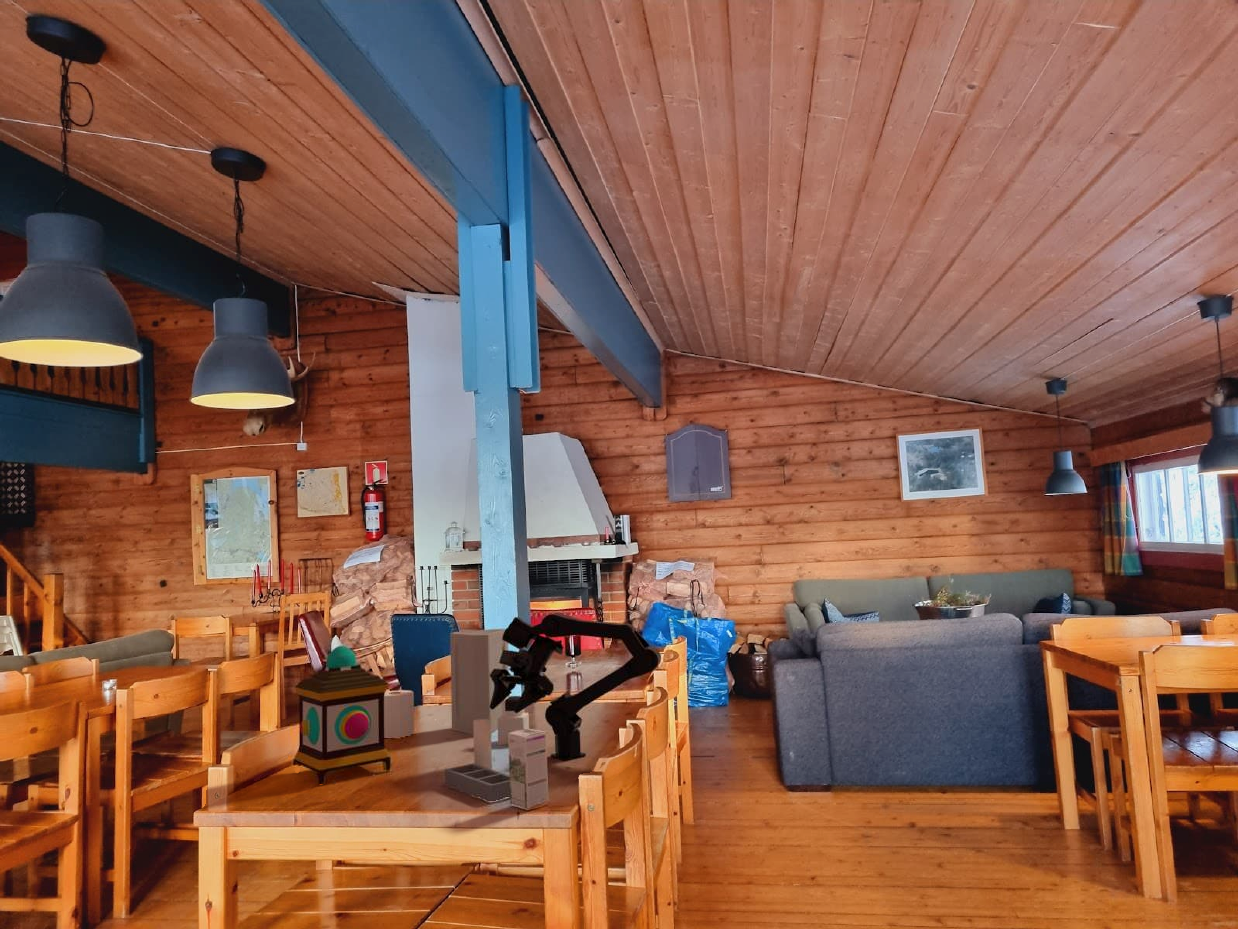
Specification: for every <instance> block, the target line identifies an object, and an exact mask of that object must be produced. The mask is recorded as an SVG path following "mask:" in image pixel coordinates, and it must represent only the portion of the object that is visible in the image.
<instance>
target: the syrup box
mask: <svg viewBox="0 0 1238 929" xmlns="http://www.w3.org/2000/svg"><path fill="white" fill-rule="evenodd" d="M508 743H509V745H508V766H509V768H508V770H509V772H508V773H509V774H508V775H510V799H509V801H510V805H511V804H514V805H516V806H520V807H523V808H530V807H532V806H534V805H536V804H541V803H543V802H545V801H549V785H548V783H549V781H548V755H547V754H548V753H547V751H548V750H547V732H546V731H543V730H538V729H532V728H529V729H522V730H517V731H514V732H511V733H508ZM549 802H550V801H549Z"/></svg>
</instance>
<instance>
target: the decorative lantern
mask: <svg viewBox="0 0 1238 929" xmlns="http://www.w3.org/2000/svg"><path fill="white" fill-rule="evenodd" d="M388 687H389V683H388V682H387V681H386V680H385V679H383V678H381V676H380V675H377V674H371V673H370V672H368V671H366V669H365V668H362V666H361V664H357V657H356V654H355V653H354V652H353V650H352V649H350V648H349V647H347V646H345V645H338V646H336V647H335V648H334V649H332V650H331V652H330V653H329V654H328V655H327V657H326V664H325V665H322V666H321V669H319V670H317V672H316V673H314V674H313V675H311V676H308V677H304V678H303V679H302V680H301V681H299V682H298V683H297V685H295V686H294V689H295V691H296V693H297V695H298V698H299V699H298V700H299V708H298V709H299V715H298V716H299V719H298V721H299V732H298V733H299V735H298V736H299V741H298V743H299V745H298V750H297V752H296V754H295V755H294V758H293V761H292V762H293V763H292V764H293V766H294V765H298V766H301V767H304V768H306V769H307V770H308V769H309V770H311V771H313V772H314V773H316V776H317V783H318V785H319V784H323V785H324V784H325V782H326V781H325V779H326V776H327V774H328V773H330V772H337V771H341V770H345V769H350V768H355V767H360V766H366V765H370V764H376V763H381V762H382V769H383V771H384V770H386V771H387V770H389V771H390V769H391V764H392V763H391V762H392V761H391V759H392V758H391V756H390V754H389V751H388V750H387V747H386V746H385V739H384V694H385V692H387V689H388Z"/></svg>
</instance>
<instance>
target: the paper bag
mask: <svg viewBox="0 0 1238 929" xmlns="http://www.w3.org/2000/svg"><path fill="white" fill-rule="evenodd" d="M505 630H506V628H493V629H491V628H490V629H480V630H478V629H477V630H467V631H454V632H450V633H449V635H450V636H449V637H450V638H449V639H450V640H449V641H450V646H449V647H450V686H451V687H450V690H451V693H450V695H451V696H450V697H451V700H450V701H451V730H452V729H453V731H456V732H461V733H464V734H468V735H472V736H474V724H473V721H474V720H477V719H491V735H493V734H494V733H496V732H497V731H496V730H498V718H499V717H500V716H501V715H503V713H502V702H501V703H500V704H499V705H498V706H497V707H496V708H494V709H493V710H492V709H491V708H490V703H491V699H492V696H493V692H494V682H493V681H492V678H491V677H490V674H491V672H492V671H493V669H497V668H499V669H506V670H507V671H508V672H509V673H510V670H509V668H510V667H509V666H507V665H505V664H500V663H499V661H500V658H501V655H502V651H503V650H509V643H507V642H505V641H503V640H502V637H503V634H504V632H505ZM509 696H510V695H509ZM509 696H508V697H509ZM495 731H496V732H495ZM493 732H494V733H493ZM492 733H493V734H492Z"/></svg>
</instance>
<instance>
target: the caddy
mask: <svg viewBox="0 0 1238 929" xmlns="http://www.w3.org/2000/svg"><path fill="white" fill-rule="evenodd" d="M445 785H446V786H445ZM444 786H445V787H447V786H448V787H447V788H449V787H452V788H454V789H456V790H455V791H457V790H460V791H462V792H464V793H463V794H465V793H466V795H467V794H470V795H473V796H475V797H480V798H482V799H485V800H487V801H496V800H500V799H503V798H505V797H510V775H509V774H507V773H503V772H501V771H497V770H495V769H492V770H491V769H488V768H485V767H482V766H479V765H476V764H474V763H469V764H464V765H459V766H455V767H450V768H446V769H444ZM452 788H451V789H452ZM454 789H453V790H454ZM460 791H459V792H460ZM462 792H461V793H462ZM470 795H469V796H470ZM473 796H472V797H473ZM475 797H474V798H475Z"/></svg>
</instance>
